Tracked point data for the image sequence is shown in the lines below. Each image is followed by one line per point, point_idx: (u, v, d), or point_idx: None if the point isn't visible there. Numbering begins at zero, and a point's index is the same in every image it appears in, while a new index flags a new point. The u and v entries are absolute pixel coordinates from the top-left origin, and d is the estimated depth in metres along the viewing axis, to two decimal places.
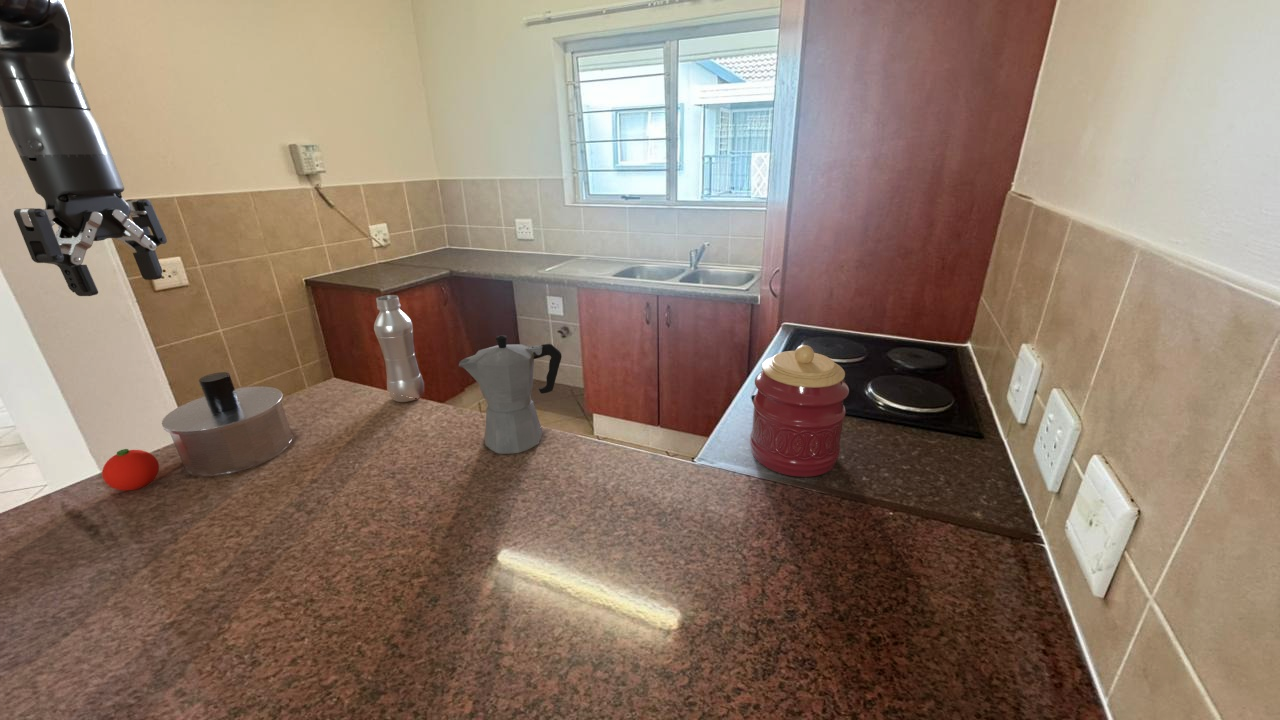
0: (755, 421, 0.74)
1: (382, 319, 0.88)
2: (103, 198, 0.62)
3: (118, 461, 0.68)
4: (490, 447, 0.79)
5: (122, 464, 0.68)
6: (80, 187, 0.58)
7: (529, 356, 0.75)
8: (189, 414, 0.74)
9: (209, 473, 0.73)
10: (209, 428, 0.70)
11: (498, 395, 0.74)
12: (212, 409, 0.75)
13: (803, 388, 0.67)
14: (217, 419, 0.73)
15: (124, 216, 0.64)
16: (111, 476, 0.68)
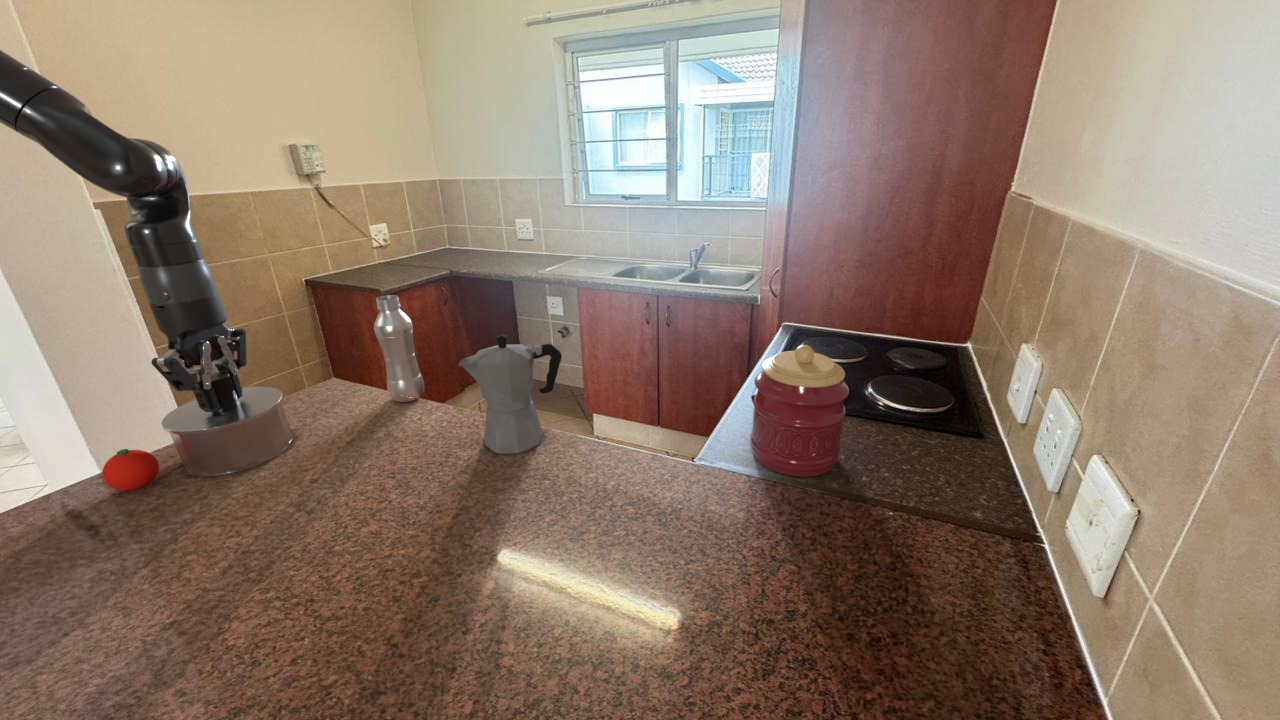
0: (755, 421, 0.74)
1: (382, 319, 0.88)
2: None
3: (118, 461, 0.68)
4: (490, 447, 0.79)
5: (122, 464, 0.68)
6: (197, 326, 0.69)
7: (529, 356, 0.75)
8: (189, 414, 0.74)
9: (209, 473, 0.73)
10: (209, 428, 0.70)
11: (498, 395, 0.74)
12: None
13: (803, 388, 0.67)
14: (217, 419, 0.73)
15: (225, 340, 0.74)
16: (111, 476, 0.68)
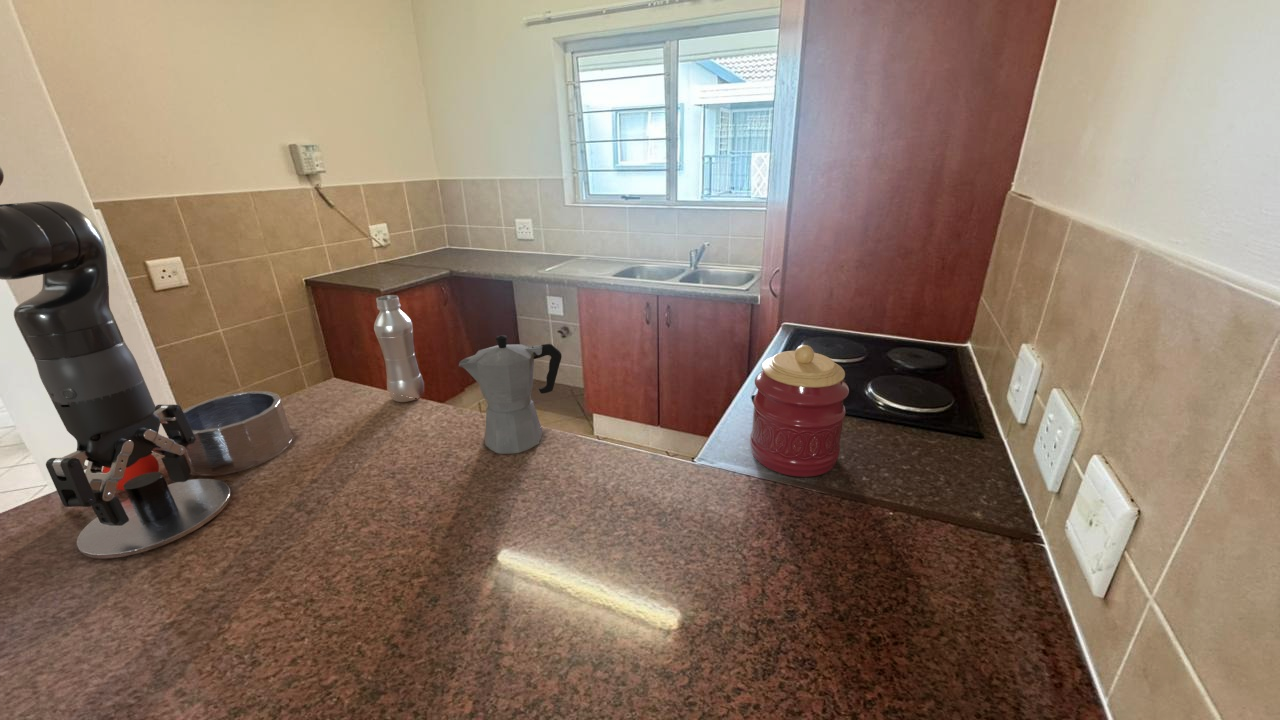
0: (755, 421, 0.74)
1: (382, 319, 0.88)
2: None
3: None
4: (490, 447, 0.79)
5: None
6: (113, 425, 0.56)
7: (529, 356, 0.75)
8: None
9: (209, 473, 0.73)
10: (132, 550, 0.58)
11: (498, 395, 0.74)
12: (141, 518, 0.62)
13: (803, 388, 0.67)
14: (144, 534, 0.60)
15: (155, 433, 0.62)
16: None
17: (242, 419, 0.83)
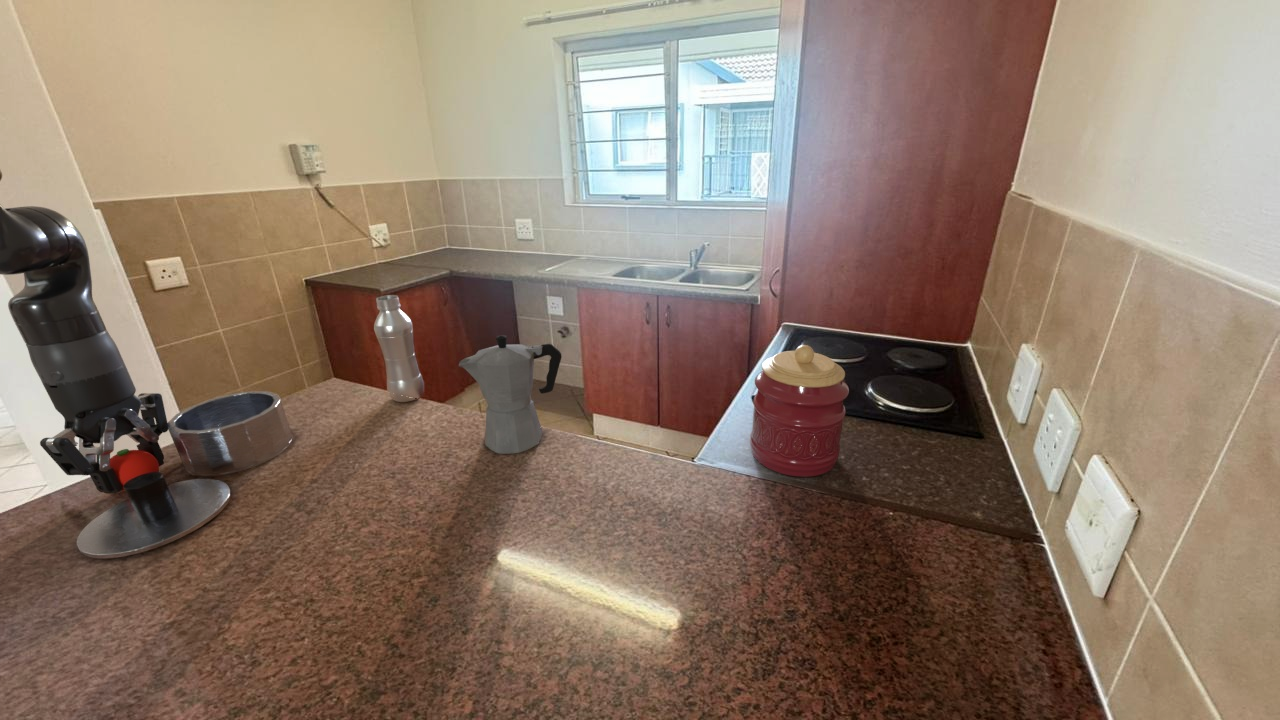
0: (755, 421, 0.74)
1: (382, 319, 0.88)
2: None
3: (118, 461, 0.68)
4: (490, 447, 0.79)
5: (122, 464, 0.68)
6: (96, 405, 0.64)
7: (529, 356, 0.75)
8: (112, 525, 0.62)
9: (209, 473, 0.73)
10: (132, 550, 0.58)
11: (498, 395, 0.74)
12: (141, 518, 0.62)
13: (803, 388, 0.67)
14: (144, 534, 0.60)
15: (135, 413, 0.69)
16: None
17: (242, 419, 0.83)
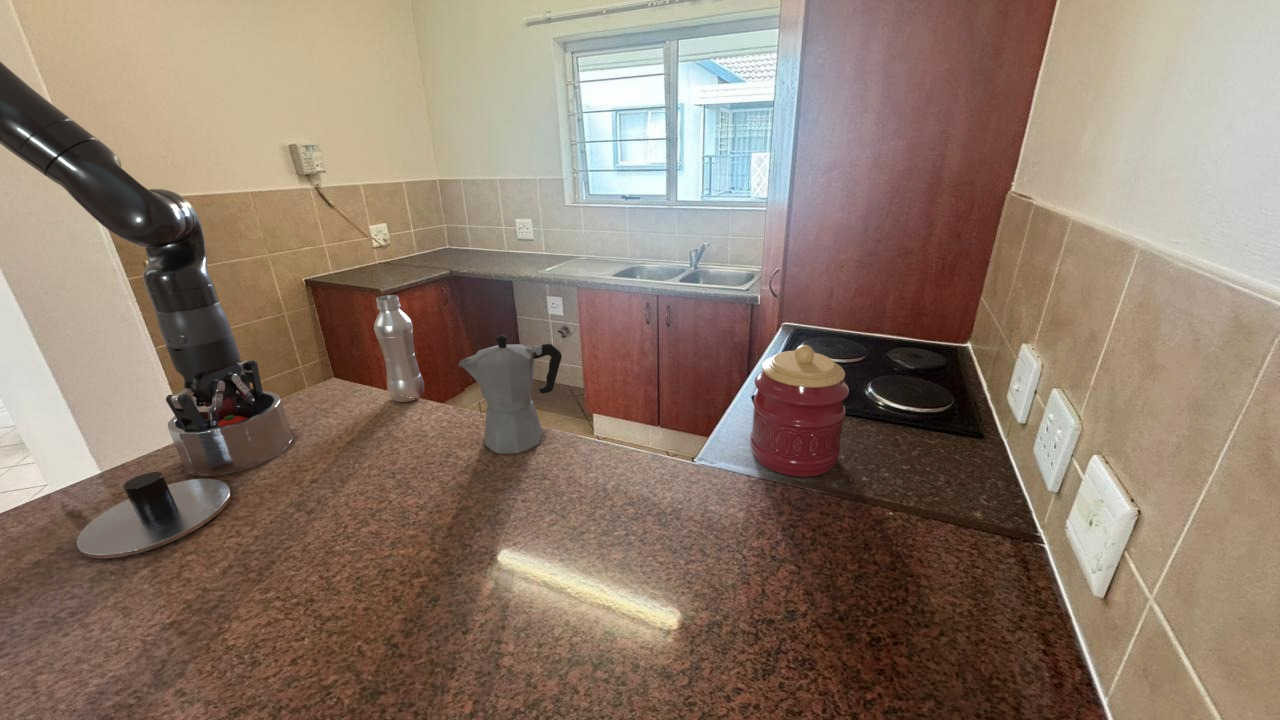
0: (755, 421, 0.74)
1: (382, 319, 0.88)
2: None
3: (226, 425, 0.76)
4: (490, 447, 0.79)
5: None
6: (212, 367, 0.71)
7: (529, 356, 0.75)
8: (112, 525, 0.62)
9: (209, 473, 0.73)
10: (132, 550, 0.58)
11: (498, 395, 0.74)
12: (141, 518, 0.62)
13: (803, 388, 0.67)
14: (144, 534, 0.60)
15: (239, 378, 0.77)
16: None
17: None
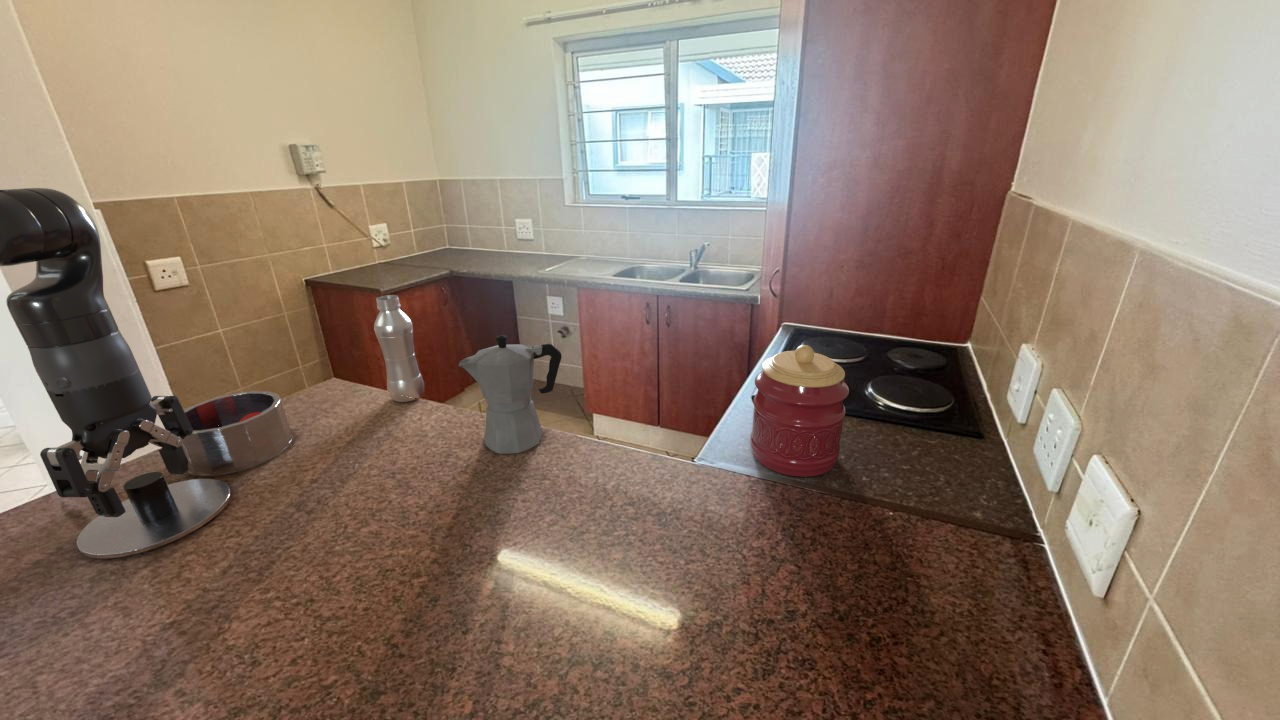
0: (755, 421, 0.74)
1: (382, 319, 0.88)
2: None
3: None
4: (490, 447, 0.79)
5: None
6: (108, 415, 0.56)
7: (529, 356, 0.75)
8: (112, 525, 0.62)
9: (209, 473, 0.73)
10: (132, 550, 0.58)
11: (498, 395, 0.74)
12: (141, 518, 0.62)
13: (803, 388, 0.67)
14: (144, 534, 0.60)
15: (151, 424, 0.61)
16: None
17: None
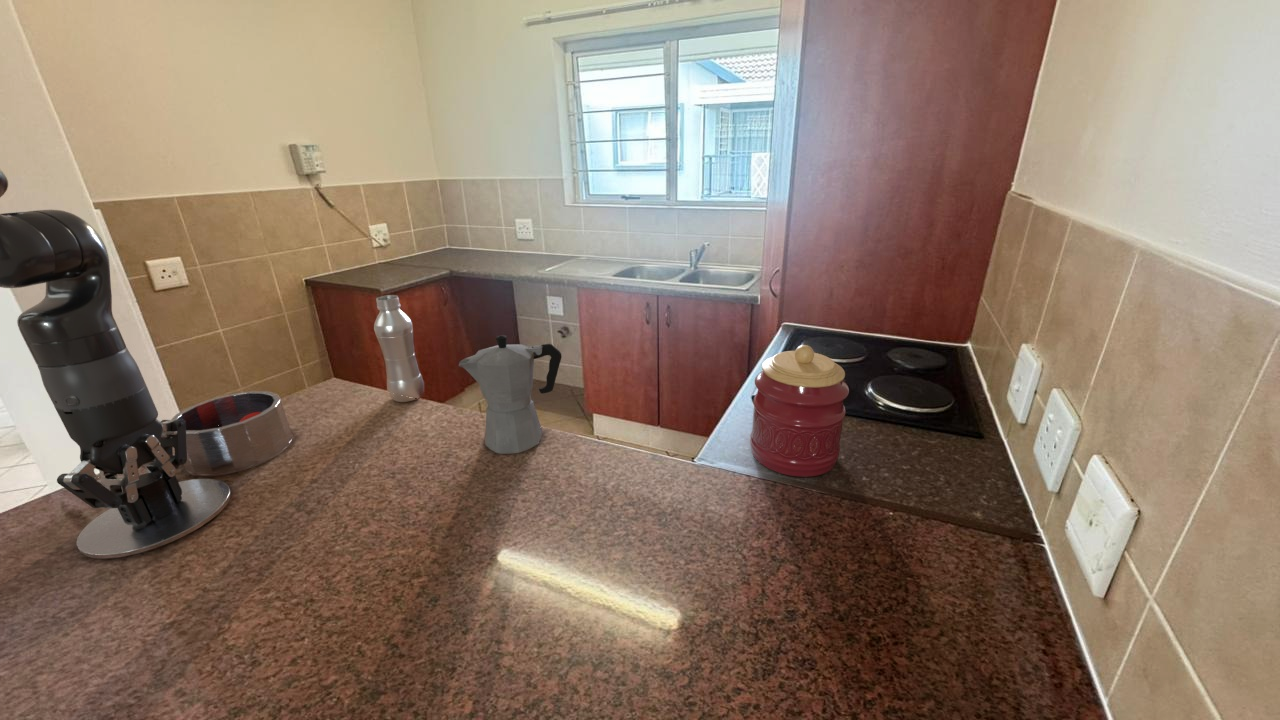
0: (755, 421, 0.74)
1: (382, 319, 0.88)
2: None
3: None
4: (490, 447, 0.79)
5: None
6: (116, 432, 0.57)
7: (529, 356, 0.75)
8: (112, 525, 0.62)
9: (209, 473, 0.73)
10: (132, 550, 0.58)
11: (498, 395, 0.74)
12: None
13: (803, 388, 0.67)
14: (144, 534, 0.60)
15: (157, 439, 0.62)
16: None
17: None
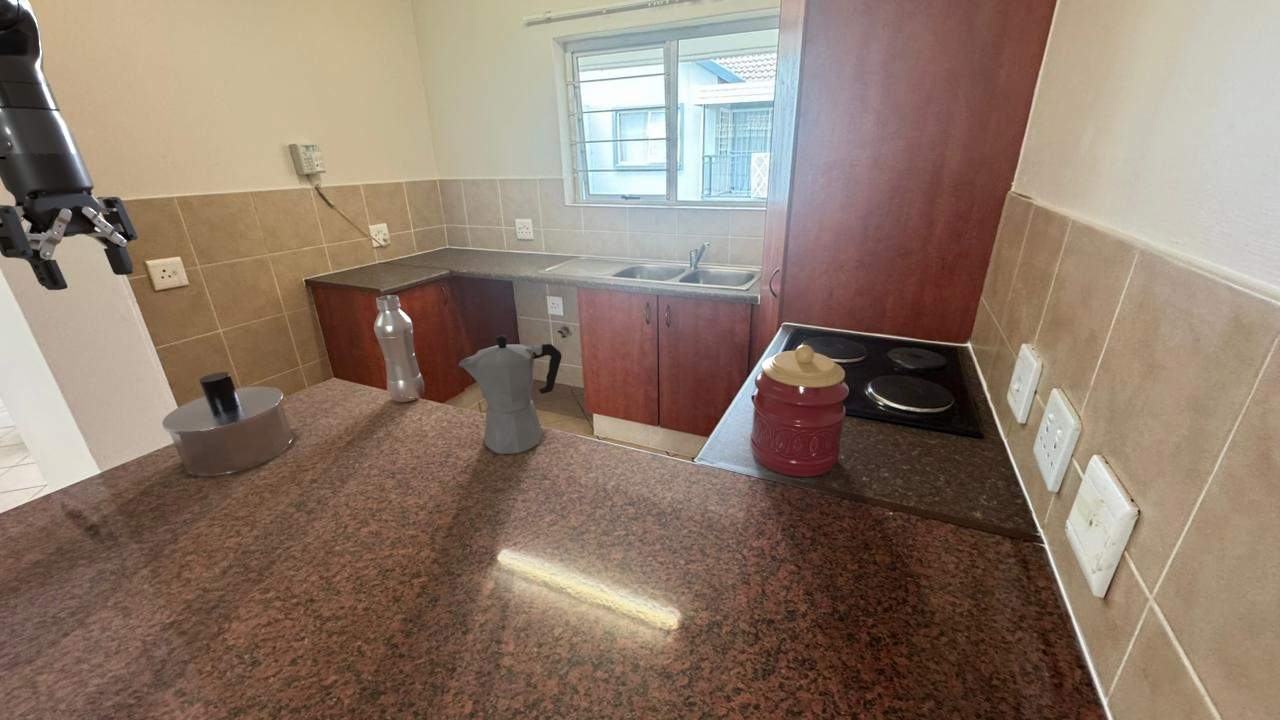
0: (755, 421, 0.74)
1: (382, 319, 0.88)
2: (72, 196, 0.64)
3: None
4: (490, 447, 0.79)
5: None
6: (49, 185, 0.60)
7: (529, 356, 0.75)
8: (189, 414, 0.74)
9: (209, 473, 0.73)
10: (209, 428, 0.70)
11: (498, 395, 0.74)
12: (212, 409, 0.75)
13: (803, 388, 0.67)
14: (217, 419, 0.73)
15: (94, 213, 0.66)
16: None
17: None
